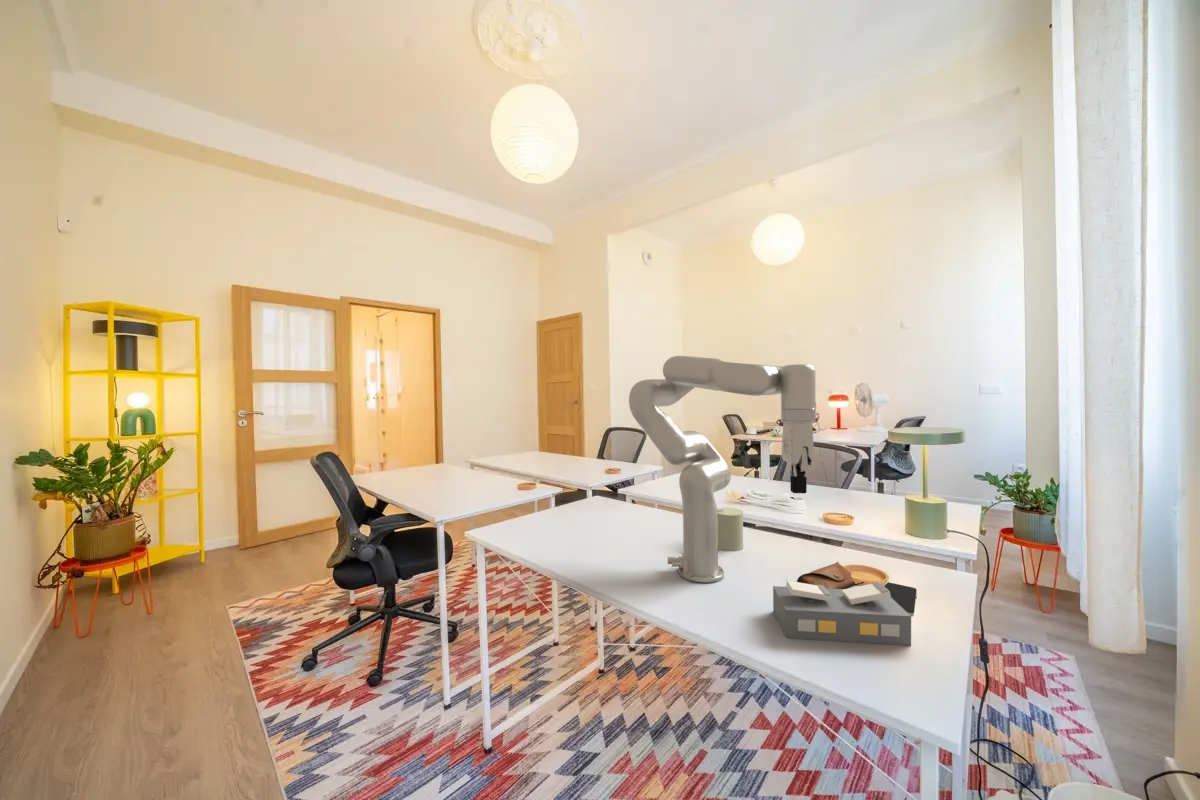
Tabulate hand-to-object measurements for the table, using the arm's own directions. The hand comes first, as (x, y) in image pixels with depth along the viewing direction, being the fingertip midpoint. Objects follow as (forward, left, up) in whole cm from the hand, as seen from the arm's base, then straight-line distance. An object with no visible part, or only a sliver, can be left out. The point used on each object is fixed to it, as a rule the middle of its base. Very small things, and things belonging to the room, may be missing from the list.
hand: (798, 492), depth 106 cm
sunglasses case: (+12, +12, -28) cm, 32 cm away
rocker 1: (-1, -10, -20) cm, 22 cm away
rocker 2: (+11, -10, -20) cm, 25 cm away
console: (+5, -10, -27) cm, 29 cm away
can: (-11, +38, -27) cm, 48 cm away
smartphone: (+24, +5, -28) cm, 37 cm away
